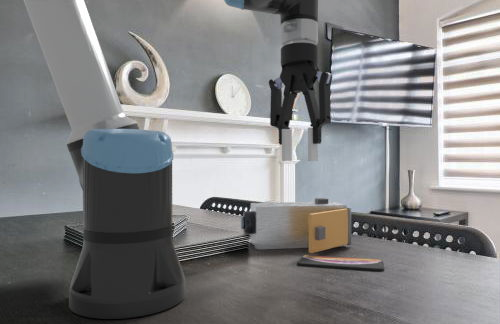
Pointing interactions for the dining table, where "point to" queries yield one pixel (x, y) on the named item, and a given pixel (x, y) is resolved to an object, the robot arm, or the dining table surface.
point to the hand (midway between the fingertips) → (299, 160)
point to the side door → (329, 229)
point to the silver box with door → (283, 223)
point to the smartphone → (341, 263)
